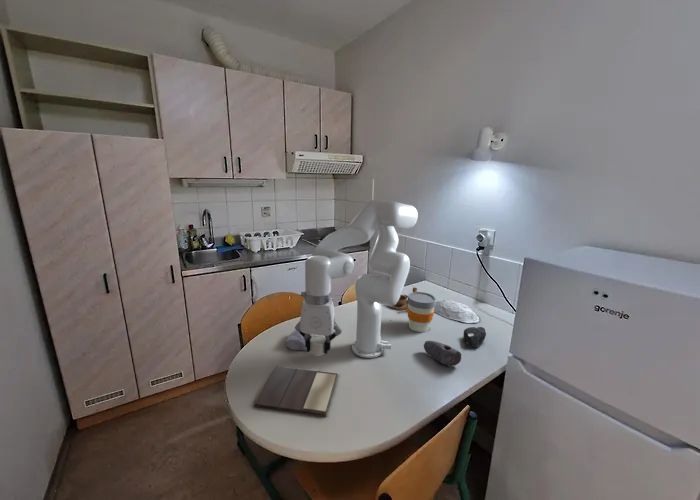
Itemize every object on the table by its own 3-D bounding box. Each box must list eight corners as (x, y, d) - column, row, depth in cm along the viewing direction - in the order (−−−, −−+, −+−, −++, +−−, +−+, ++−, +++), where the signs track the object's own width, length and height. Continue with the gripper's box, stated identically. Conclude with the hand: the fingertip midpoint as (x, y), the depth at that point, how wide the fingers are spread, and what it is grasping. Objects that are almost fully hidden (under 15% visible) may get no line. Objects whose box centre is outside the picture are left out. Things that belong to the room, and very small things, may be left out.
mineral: (491, 349, 122) (493, 336, 120) (469, 349, 122) (471, 336, 120) (480, 336, 132) (482, 324, 130) (460, 336, 132) (461, 324, 130)
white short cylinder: (327, 347, 96) (327, 336, 95) (323, 356, 91) (323, 345, 90) (312, 345, 97) (312, 334, 96) (307, 354, 92) (307, 343, 91)
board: (337, 375, 104) (337, 373, 104) (325, 416, 87) (325, 413, 86) (277, 368, 107) (277, 365, 107) (254, 406, 90) (254, 403, 89)
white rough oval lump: (471, 326, 139) (473, 312, 138) (424, 310, 156) (425, 298, 155) (484, 318, 150) (485, 305, 149) (438, 304, 167) (439, 293, 166)
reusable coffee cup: (422, 337, 130) (425, 305, 126) (399, 325, 139) (402, 296, 135) (438, 328, 138) (441, 298, 134) (416, 317, 147) (418, 289, 143)
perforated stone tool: (419, 353, 118) (421, 337, 116) (427, 348, 122) (429, 333, 120) (453, 372, 107) (455, 356, 105) (461, 367, 111) (463, 350, 109)
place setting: (382, 299, 166) (383, 290, 164) (414, 296, 172) (415, 286, 170) (396, 314, 150) (397, 303, 148) (431, 309, 156) (432, 299, 154)
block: (285, 352, 119) (308, 351, 117) (282, 341, 118) (306, 340, 116) (296, 337, 131) (317, 336, 128) (294, 327, 130) (315, 326, 127)
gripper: (286, 299, 87) (287, 354, 91) (343, 305, 84) (342, 360, 89) (294, 289, 94) (295, 340, 99) (348, 294, 91) (346, 346, 96)
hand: (317, 349), depth 94 cm, fingers closed on white short cylinder, 5 cm apart
